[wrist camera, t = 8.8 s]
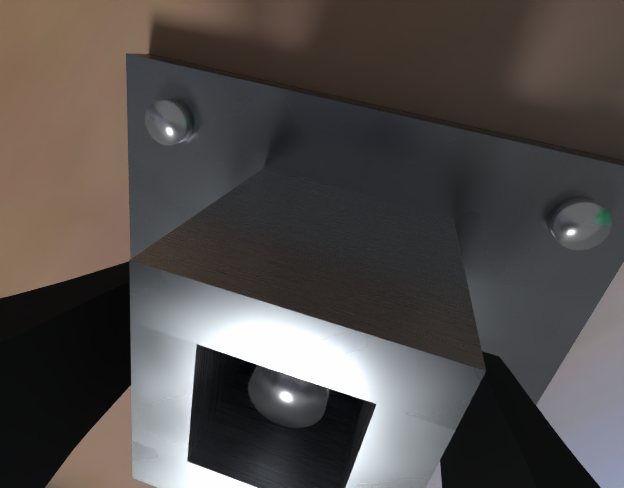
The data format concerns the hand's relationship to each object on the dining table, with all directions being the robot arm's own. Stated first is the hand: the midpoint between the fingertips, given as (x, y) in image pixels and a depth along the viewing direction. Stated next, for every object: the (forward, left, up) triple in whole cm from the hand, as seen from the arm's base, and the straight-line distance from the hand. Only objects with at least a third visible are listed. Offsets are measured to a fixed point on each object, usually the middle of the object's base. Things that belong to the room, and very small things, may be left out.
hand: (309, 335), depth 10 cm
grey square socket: (0, 0, -3) cm, 3 cm away
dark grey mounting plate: (0, 0, -4) cm, 4 cm away
